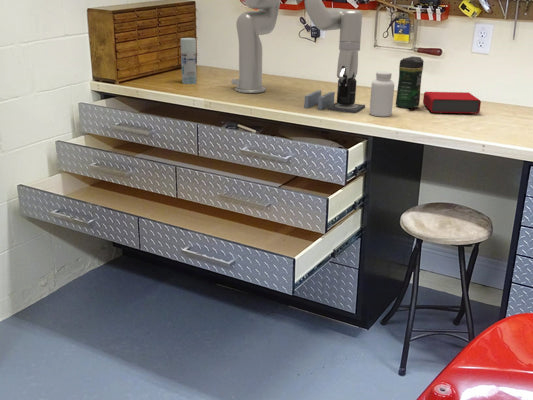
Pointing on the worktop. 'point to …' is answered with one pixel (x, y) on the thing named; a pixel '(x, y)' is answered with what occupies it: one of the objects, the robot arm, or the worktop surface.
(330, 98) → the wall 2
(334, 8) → the robot arm
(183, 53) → the tall grey product box
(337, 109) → the mat
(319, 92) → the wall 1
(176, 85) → the worktop surface
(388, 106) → the pill bottle
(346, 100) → the supplement bottle
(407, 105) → the coffee jar
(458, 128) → the worktop surface
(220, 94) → the worktop surface
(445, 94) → the red device housing
